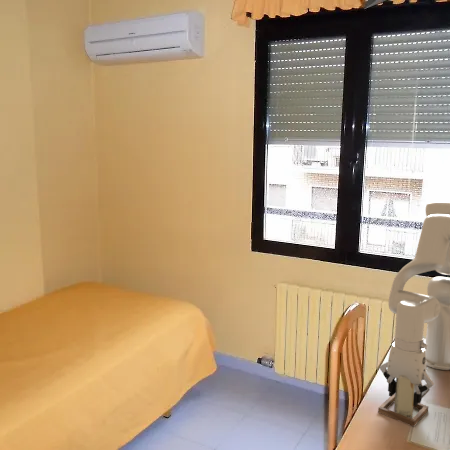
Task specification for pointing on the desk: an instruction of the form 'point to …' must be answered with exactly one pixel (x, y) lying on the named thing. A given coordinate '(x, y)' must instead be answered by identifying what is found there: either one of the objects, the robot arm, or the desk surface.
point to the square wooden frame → (399, 417)
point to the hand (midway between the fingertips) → (404, 398)
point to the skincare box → (404, 397)
